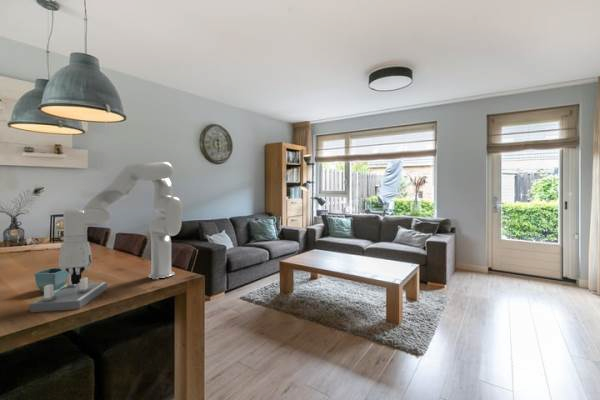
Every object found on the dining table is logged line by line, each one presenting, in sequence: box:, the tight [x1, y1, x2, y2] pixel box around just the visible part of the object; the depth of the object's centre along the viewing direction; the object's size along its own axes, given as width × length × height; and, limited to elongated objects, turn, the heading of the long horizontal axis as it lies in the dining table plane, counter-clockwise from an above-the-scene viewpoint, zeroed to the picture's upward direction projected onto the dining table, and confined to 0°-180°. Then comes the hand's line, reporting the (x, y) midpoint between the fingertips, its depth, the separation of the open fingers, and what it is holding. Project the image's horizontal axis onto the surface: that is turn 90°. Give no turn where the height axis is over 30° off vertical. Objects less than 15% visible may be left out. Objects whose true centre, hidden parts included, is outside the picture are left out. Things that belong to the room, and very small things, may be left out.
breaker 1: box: [41, 284, 56, 301], centre depth 109 cm, size 4×3×5 cm
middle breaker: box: [78, 277, 90, 292], centre depth 118 cm, size 4×3×5 cm
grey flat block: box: [29, 281, 108, 313], centre depth 117 cm, size 23×16×3 cm
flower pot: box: [34, 267, 69, 293], centre depth 128 cm, size 9×9×9 cm
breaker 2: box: [66, 274, 80, 287], centre depth 124 cm, size 4×3×5 cm
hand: (76, 283), depth 118 cm, fingers closed
